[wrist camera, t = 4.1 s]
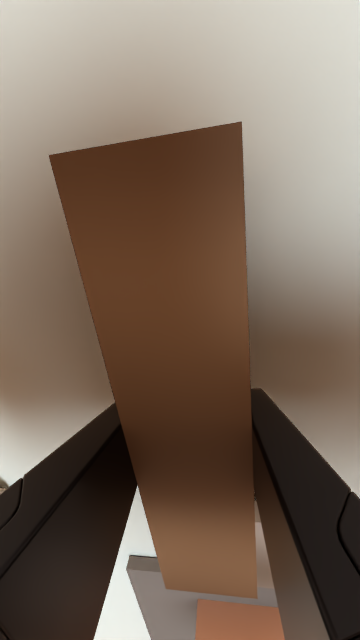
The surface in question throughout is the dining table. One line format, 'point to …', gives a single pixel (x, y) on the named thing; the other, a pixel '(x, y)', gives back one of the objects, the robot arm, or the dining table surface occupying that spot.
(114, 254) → the brown wooden plank
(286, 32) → the dining table surface
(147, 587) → the mat
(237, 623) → the tile
